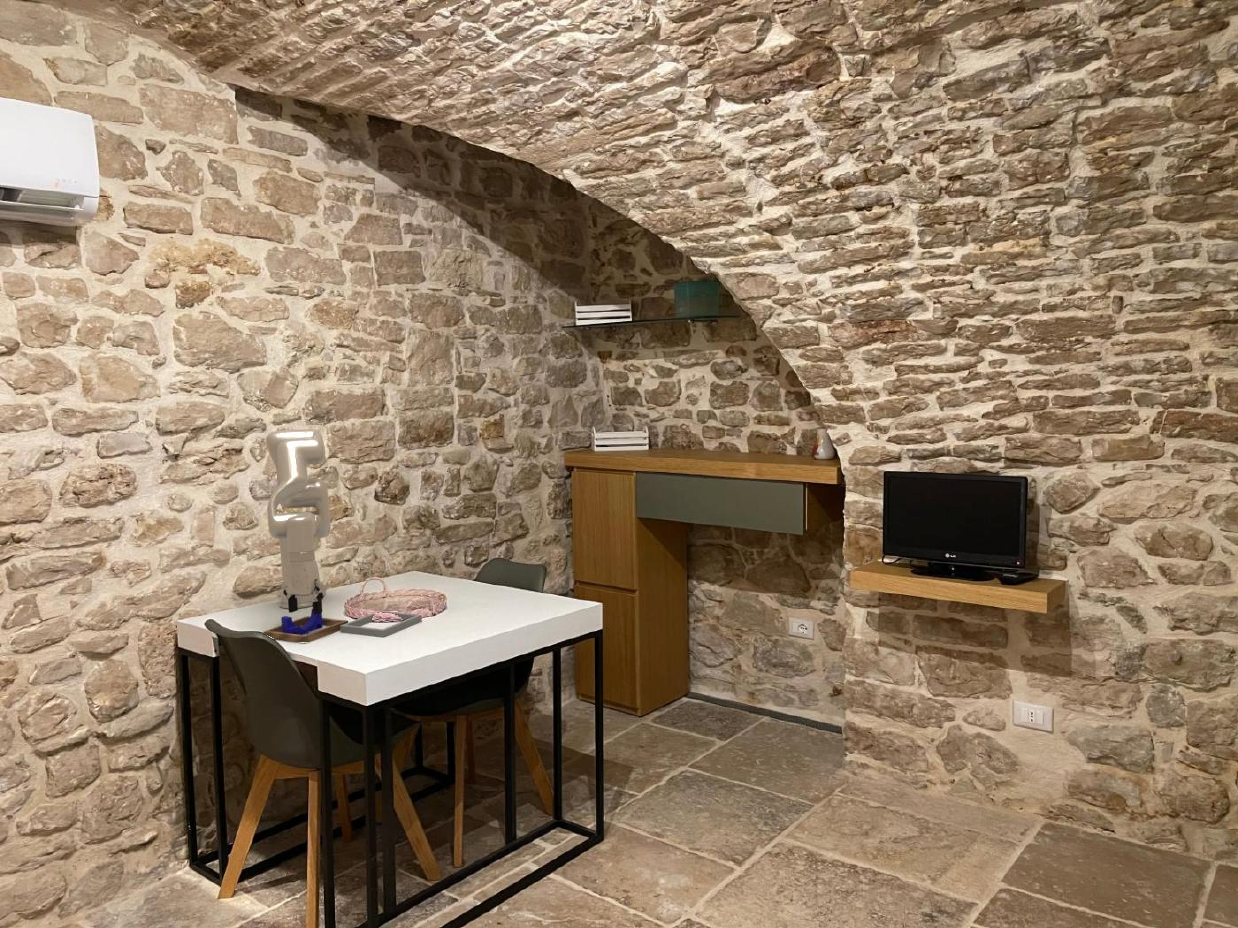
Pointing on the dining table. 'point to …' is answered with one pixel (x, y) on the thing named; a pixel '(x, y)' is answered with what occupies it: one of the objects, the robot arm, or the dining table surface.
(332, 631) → the walnut holder
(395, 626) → the tray
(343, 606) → the dining table surface
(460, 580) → the dining table surface
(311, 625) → the blue notched cradle block
